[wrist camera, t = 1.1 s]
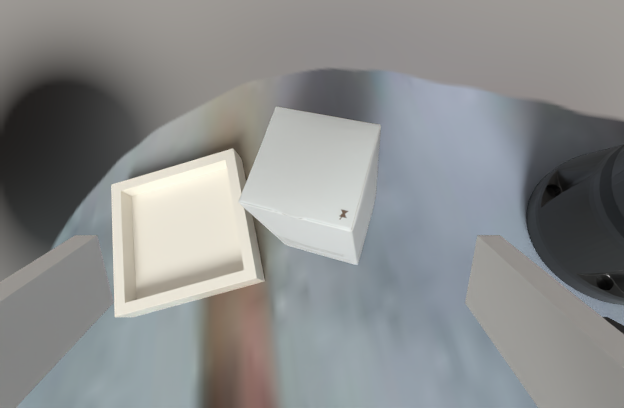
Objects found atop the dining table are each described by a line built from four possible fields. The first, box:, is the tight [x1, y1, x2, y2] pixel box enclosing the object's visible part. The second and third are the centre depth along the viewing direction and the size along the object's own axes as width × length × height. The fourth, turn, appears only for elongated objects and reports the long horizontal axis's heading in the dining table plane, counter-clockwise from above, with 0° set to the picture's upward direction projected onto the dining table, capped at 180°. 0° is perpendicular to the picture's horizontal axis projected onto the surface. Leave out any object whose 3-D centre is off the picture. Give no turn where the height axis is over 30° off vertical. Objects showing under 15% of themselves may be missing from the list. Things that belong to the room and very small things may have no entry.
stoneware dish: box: [111, 148, 265, 317], centre depth 39 cm, size 16×16×3 cm
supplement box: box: [238, 106, 381, 265], centre depth 31 cm, size 9×9×15 cm
